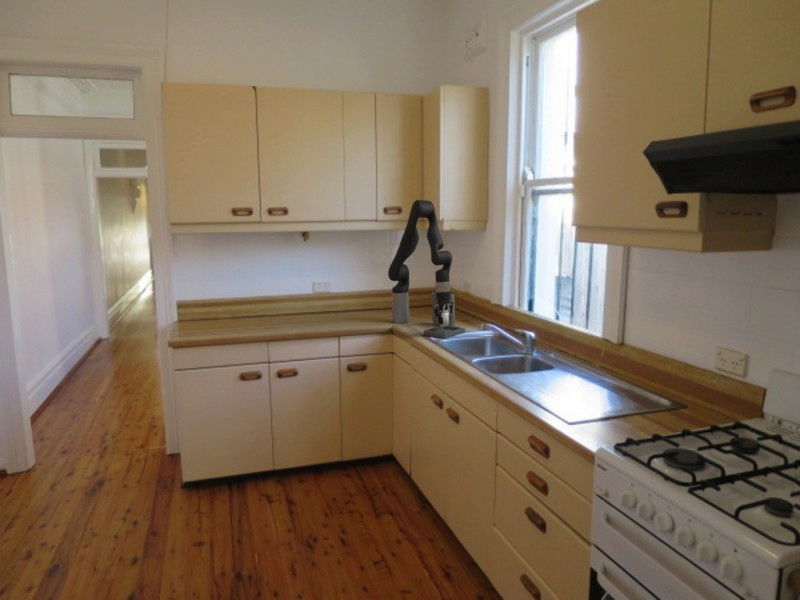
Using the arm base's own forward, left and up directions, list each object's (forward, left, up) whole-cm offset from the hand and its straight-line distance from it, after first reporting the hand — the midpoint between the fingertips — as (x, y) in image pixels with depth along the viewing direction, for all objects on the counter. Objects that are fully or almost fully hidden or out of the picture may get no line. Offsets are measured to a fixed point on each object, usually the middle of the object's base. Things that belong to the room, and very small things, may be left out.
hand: (444, 323), depth 292 cm
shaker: (0, 0, -1) cm, 1 cm away
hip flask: (-14, +16, -6) cm, 22 cm away
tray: (0, 0, -6) cm, 6 cm away
